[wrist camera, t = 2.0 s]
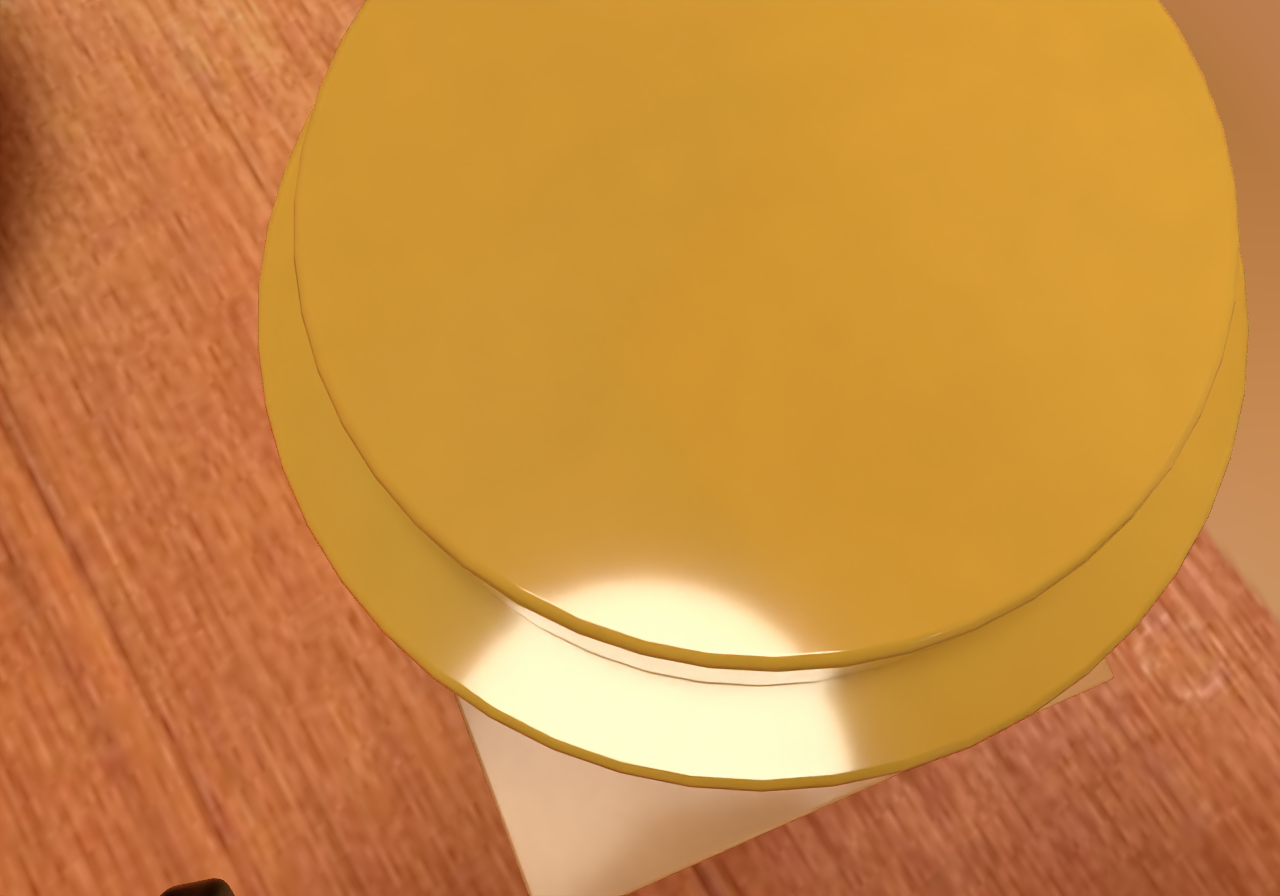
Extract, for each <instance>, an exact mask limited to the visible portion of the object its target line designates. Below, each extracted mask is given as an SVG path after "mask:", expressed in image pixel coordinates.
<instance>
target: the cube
mask: <svg viewBox="0 0 1280 896" xmlns="http://www.w3.org/2000/svg"><path fill="white" fill-rule="evenodd" d="M1113 678H1114V674H1113V672H1112V670H1111V668H1110V666H1109V664H1108V662H1107V660H1106V658H1104V659H1103V660H1102V661H1101V662H1100V663H1099V664H1098V665H1097V666H1096V667H1095V668H1094V669H1093V670H1092V671H1091V672H1090V673H1089V674H1088V675H1086V676H1085V677H1084V678H1082V679H1081V680H1079V681H1078V682H1077V683H1075V684H1074V685H1073V686H1071V687H1070V688H1069V689H1067V690H1066V691H1064V692H1063V693H1062V694H1060V695H1059V696H1058V697H1056V698H1055V699H1053V700H1052V701H1051V702H1049V703H1048V704H1047V705H1045V706H1044V707H1042V708H1041V709H1040V710H1038V711H1037V712H1036V713H1038V712H1040V711H1042V710H1044V709H1047V708H1049V707H1051V706H1053V705H1056V704H1058V703H1060V702H1062V701H1065V700H1067V699H1069V698H1071V697H1074V696H1076V695H1078V694H1080V693H1083V692H1085V691H1087V690H1089V689H1092V688H1094V687H1096V686H1098V685H1101V684H1103V683H1105V682H1108V681H1110V680H1112V679H1113ZM454 695H455V698H456V701H457V703H458V706H459V709H460V712H461V714H462V717H463V720H464V722H465V725H466V728H467V730H468V733H469V736H470V739H471V741H472V744H473V747H474V749H475V752H476V755H477V757H478V760H479V763H480V765H481V768H482V771H483V774H484V776H485V779H486V782H487V784H488V787H489V790H490V792H491V795H492V798H493V800H494V803H495V806H496V809H497V811H498V814H499V817H500V819H501V822H502V825H503V827H504V830H505V833H506V835H507V838H508V841H509V844H510V846H511V849H512V852H513V854H514V857H515V860H516V862H517V865H518V868H519V870H520V873H521V876H522V879H523V881H524V884H525V887H526V889H527V892H528V895H529V896H625V895H627V894H630V893H632V892H634V891H636V890H639V889H641V888H643V887H645V886H648V885H650V884H652V883H654V882H657V881H659V880H661V879H663V878H666V877H668V876H670V875H672V874H675V873H677V872H679V871H681V870H684V869H686V868H688V867H690V866H693V865H695V864H697V863H699V862H702V861H704V860H706V859H708V858H711V857H713V856H715V855H717V854H720V853H722V852H724V851H726V850H729V849H731V848H733V847H735V846H738V845H740V844H742V843H745V842H747V841H749V840H751V839H754V838H756V837H758V836H760V835H763V834H765V833H767V832H769V831H772V830H774V829H776V828H778V827H781V826H783V825H785V824H787V823H790V822H792V821H794V820H796V819H799V818H801V817H803V816H805V815H808V814H810V813H812V812H814V811H817V810H819V809H821V808H823V807H826V806H828V805H830V804H832V803H835V802H837V801H839V800H841V799H844V798H846V797H848V796H850V795H853V794H855V793H857V792H859V791H862V790H864V789H866V788H869V787H871V786H873V785H875V784H878V783H880V782H882V781H884V780H887V779H889V778H891V777H893V776H896V775H898V774H900V773H902V772H900V773H896V774H891V775H886V776H882V777H877V778H872V779H867V780H863V781H858V782H853V783H849V784H844V785H839V786H835V787H822V788H808V789H794V790H781V791H767V792H757V791H741V790H725V789H710V788H694V787H686V786H681V785H676V784H671V783H667V782H662V781H657V780H652V779H647V778H642V777H637V776H632V775H627V774H622V773H618V772H615V771H612V770H609V769H607V768H604V767H601V766H598V765H595V764H592V763H589V762H586V761H584V760H581V759H578V758H575V757H572V756H569V755H566V754H563V753H561V752H558V751H555V750H552V749H550V748H548V747H546V746H544V745H542V744H540V743H538V742H536V741H534V740H532V739H530V738H528V737H527V736H525V735H523V734H521V733H519V732H517V731H515V730H513V729H511V728H509V727H507V726H505V725H503V724H501V723H499V722H497V721H495V720H493V719H491V718H489V717H488V716H486V715H485V714H484V713H482V712H481V711H479V710H478V709H476V708H475V707H473V706H472V705H471V704H469V703H468V702H466V701H465V700H463V699H462V698H461V697H459V696H458V695H456V694H455V693H454ZM1034 714H1035V713H1034Z"/></svg>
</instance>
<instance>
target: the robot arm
mask: <svg viewBox="0 0 1280 896" xmlns="http://www.w3.org/2000/svg"><path fill="white" fill-rule="evenodd" d="M160 896H234V894H233V892H232V890H231V888H230V887H229V885H228V884H227V883H226V882H225V881H224V880H221V879H215V878H212V879H207V880H202V881H197V882H192V883H187V884H182V885H177V886H173V887H171V888H169V889H167V890H166V891H165V892H164V893H162V894H161V895H160Z"/></svg>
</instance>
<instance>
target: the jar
mask: <svg viewBox="0 0 1280 896" xmlns="http://www.w3.org/2000/svg"><path fill="white" fill-rule="evenodd" d="M1237 211H1238V210H1237V197H1236V184H1235V179H1234V174H1233V170H1232V165H1231V161H1230V156H1229V151H1228V147H1227V143H1226V138H1225V133H1224V129H1223V126H1222V123H1221V120H1220V118H1219V115H1218V112H1217V110H1216V107H1215V104H1214V101H1213V99H1212V96H1211V93H1210V91H1209V88H1208V85H1207V83H1206V80H1205V77H1204V75H1203V73H1202V71H1201V69H1200V67H1199V65H1198V63H1197V62H1196V60H1195V58H1194V56H1193V54H1192V52H1191V50H1190V48H1189V47H1188V45H1187V43H1186V41H1185V39H1184V37H1183V35H1182V33H1181V31H1180V29H1179V28H1178V26H1177V24H1176V23H1175V21H1174V20H1173V19H1172V17H1171V16H1170V15H1169V13H1168V12H1167V10H1166V9H1165V7H1164V6H1163V5H1162V3H1161V2H1160V1H1159V0H366V1H365V2H364V4H363V6H362V7H361V9H360V10H359V12H358V14H357V15H356V17H355V18H354V20H353V22H352V23H351V25H350V27H349V28H348V30H347V31H346V33H345V35H344V36H343V38H342V39H341V41H340V43H339V46H338V48H337V50H336V52H335V55H334V57H333V59H332V61H331V63H330V66H329V68H328V70H327V72H326V75H325V77H324V79H323V81H322V84H321V86H320V88H319V90H318V94H317V97H316V100H315V104H314V107H313V109H312V111H311V112H310V114H309V116H308V118H307V120H306V122H305V125H304V127H303V129H302V131H301V133H300V136H299V138H298V140H297V142H296V145H295V147H294V149H293V151H292V154H291V156H290V158H289V160H288V162H287V165H286V167H285V169H284V173H283V176H282V179H281V183H280V186H279V190H278V193H277V196H276V200H275V203H274V206H273V210H272V213H271V217H270V220H269V223H268V227H267V234H266V240H265V247H264V253H263V260H262V267H261V273H260V280H259V286H258V353H259V361H260V369H261V377H262V385H263V392H264V400H265V408H266V411H267V415H268V419H269V422H270V426H271V430H272V433H273V437H274V441H275V444H276V448H277V452H278V455H279V459H280V462H281V466H282V469H283V471H284V474H285V476H286V478H287V480H288V483H289V485H290V487H291V490H292V492H293V494H294V497H295V499H296V501H297V504H298V506H299V508H300V511H301V513H302V515H303V517H304V520H305V522H306V524H307V526H308V528H309V530H310V531H311V533H312V535H313V536H314V538H315V540H316V541H317V543H318V544H319V546H320V548H321V549H322V551H323V553H324V554H325V556H326V558H327V559H328V561H329V562H330V564H331V566H332V567H333V569H334V571H335V572H336V574H337V576H338V577H339V579H340V580H341V582H342V583H343V584H344V585H345V587H346V588H347V589H348V590H349V592H350V593H351V594H352V595H353V596H354V598H355V599H356V600H357V601H358V603H359V604H360V605H361V606H362V607H363V609H364V610H365V611H366V612H367V613H368V615H369V616H370V617H371V618H372V620H373V621H374V622H375V623H376V624H377V626H378V627H379V628H380V629H381V630H382V632H383V633H384V634H385V635H386V636H387V637H389V638H390V639H391V640H392V641H393V642H394V643H395V644H396V645H397V646H398V647H399V648H401V649H402V650H403V651H404V652H405V653H406V654H407V655H408V656H409V657H410V658H411V659H412V660H414V661H415V662H416V663H417V664H418V665H419V666H420V667H421V668H422V669H423V670H424V671H426V672H427V673H428V674H429V675H430V676H431V677H432V678H433V679H435V680H436V681H437V682H439V683H440V684H442V685H443V686H445V687H446V688H448V689H449V690H450V691H452V692H453V693H455V694H456V695H458V696H459V697H461V698H462V699H463V700H465V701H466V702H468V703H469V704H471V705H472V706H473V707H475V708H476V709H478V710H479V711H481V712H482V713H484V714H485V715H486V716H488V717H489V718H491V719H493V720H495V721H497V722H499V723H501V724H503V725H505V726H507V727H509V728H511V729H513V730H515V731H517V732H519V733H521V734H523V735H525V736H527V737H528V738H530V739H532V740H534V741H536V742H538V743H540V744H542V745H544V746H546V747H548V748H550V749H552V750H555V751H558V752H561V753H563V754H566V755H569V756H572V757H575V758H578V759H581V760H584V761H586V762H589V763H592V764H595V765H598V766H601V767H604V768H607V769H609V770H612V771H615V772H618V773H622V774H627V775H632V776H637V777H642V778H647V779H652V780H657V781H662V782H667V783H671V784H676V785H681V786H686V787H694V788H710V789H725V790H741V791H757V792H767V791H781V790H794V789H808V788H822V787H835V786H839V785H844V784H849V783H853V782H858V781H863V780H867V779H872V778H877V777H882V776H886V775H891V774H896V773H900V772H905V771H907V770H910V769H913V768H916V767H918V766H921V765H924V764H927V763H929V762H932V761H935V760H938V759H940V758H943V757H946V756H949V755H951V754H954V753H957V752H960V751H963V750H965V749H968V748H971V747H973V746H975V745H976V744H978V743H980V742H982V741H984V740H986V739H988V738H990V737H992V736H993V735H995V734H997V733H999V732H1001V731H1003V730H1005V729H1007V728H1008V727H1010V726H1012V725H1014V724H1016V723H1018V722H1020V721H1022V720H1024V719H1025V718H1027V717H1029V716H1031V715H1033V714H1034V713H1036V712H1037V711H1038V710H1040V709H1041V708H1042V707H1044V706H1045V705H1047V704H1048V703H1049V702H1051V701H1052V700H1053V699H1055V698H1056V697H1058V696H1059V695H1060V694H1062V693H1063V692H1064V691H1066V690H1067V689H1069V688H1070V687H1071V686H1073V685H1074V684H1075V683H1077V682H1078V681H1079V680H1081V679H1082V678H1084V677H1085V676H1086V675H1088V674H1089V673H1090V672H1091V671H1092V670H1093V669H1094V668H1095V667H1096V666H1097V665H1098V664H1099V663H1100V662H1101V661H1102V660H1103V659H1104V658H1105V657H1106V656H1107V655H1108V654H1109V653H1110V652H1111V651H1112V650H1113V649H1114V648H1116V647H1117V646H1118V645H1119V644H1120V643H1121V642H1122V641H1123V640H1124V639H1125V638H1126V637H1127V636H1128V635H1129V634H1130V633H1131V632H1132V631H1133V630H1134V629H1135V628H1136V627H1137V626H1138V624H1139V623H1140V622H1141V620H1142V619H1143V618H1144V617H1145V615H1146V614H1147V613H1148V611H1149V610H1150V609H1151V607H1152V606H1153V605H1154V603H1155V602H1156V601H1157V600H1158V598H1159V597H1160V596H1161V594H1162V593H1163V592H1164V590H1165V589H1166V588H1167V586H1168V585H1169V584H1170V583H1171V581H1172V580H1173V579H1174V577H1175V576H1176V575H1177V573H1178V571H1179V569H1180V568H1181V566H1182V564H1183V562H1184V560H1185V559H1186V557H1187V555H1188V553H1189V551H1190V550H1191V548H1192V546H1193V544H1194V542H1195V541H1196V539H1197V537H1198V535H1199V533H1200V532H1201V530H1202V528H1203V526H1204V524H1205V523H1206V521H1207V519H1208V517H1209V514H1210V512H1211V509H1212V506H1213V504H1214V501H1215V498H1216V496H1217V493H1218V490H1219V488H1220V485H1221V482H1222V480H1223V477H1224V474H1225V472H1226V469H1227V466H1228V464H1229V461H1230V458H1231V454H1232V450H1233V445H1234V440H1235V436H1236V432H1237V427H1238V422H1239V417H1240V413H1241V408H1242V404H1243V398H1244V394H1245V380H1246V365H1247V350H1248V336H1249V327H1248V312H1247V299H1246V286H1245V272H1244V266H1243V262H1242V257H1241V252H1240V247H1239V242H1240V237H1239V224H1238V212H1237Z"/></svg>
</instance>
